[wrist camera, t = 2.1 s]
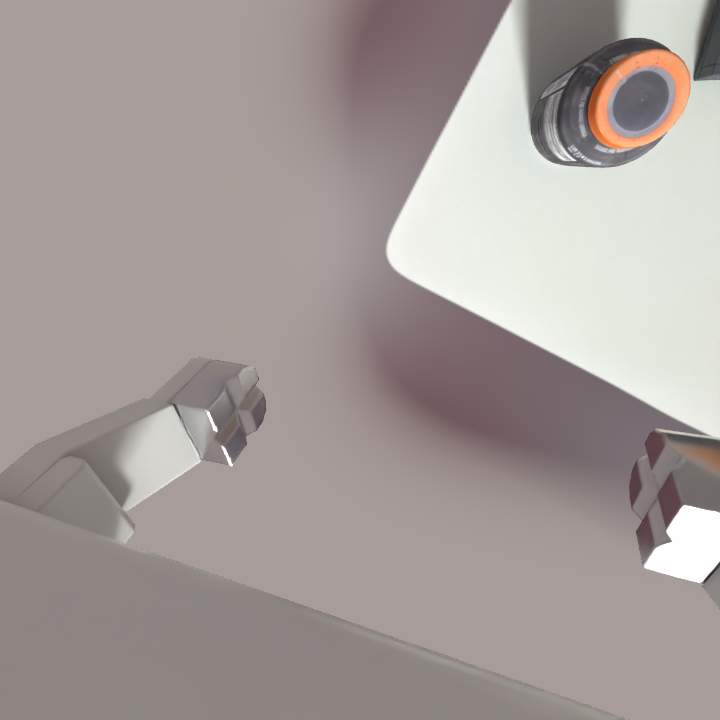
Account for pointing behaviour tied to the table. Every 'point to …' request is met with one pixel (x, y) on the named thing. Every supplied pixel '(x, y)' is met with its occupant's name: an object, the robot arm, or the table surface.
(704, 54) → the slate tray
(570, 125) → the pill bottle
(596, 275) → the table surface
